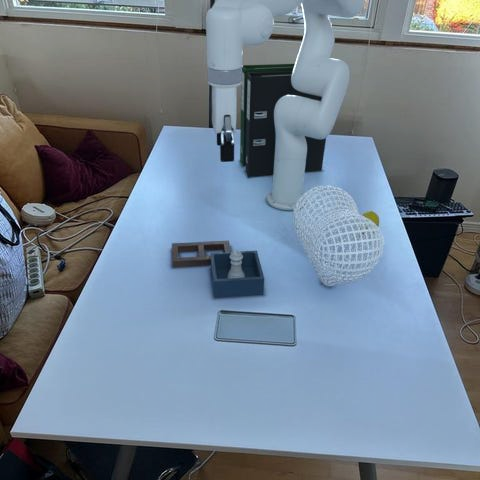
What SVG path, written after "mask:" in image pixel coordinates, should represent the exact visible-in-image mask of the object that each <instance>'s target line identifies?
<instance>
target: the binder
mask: <svg viewBox="0 0 480 480" xmlns="http://www.w3.org/2000/svg"><path fill="white" fill-rule="evenodd" d="M294 66H295V63H271V64H268V63H267V64H242V84H241V85H240V131H239V132H240V134H239V135H240V137H239V138H240V139H239V140H240V142H239V143H240V144H239V145H240V146H239V147H240V148H239V152H240V153H239V162H240V164H241V166H242V167H244V172H245V175H246V176H247V178H257V177H268V176H269V177H270V176H273V173H274V159H275V143H276V132H275V123H274V109H275V105H276V103H277V101H278V100H279V99H280V98H281V97H283V96H286V95H296V96H301V97H305V98H310V99H313V100H318V101H321V99H322V97H321V96H316V95H312V94H307V93H303V92H300V91H298V90H296V89H294V87H293V86H292V84H291V77H292V73H293V69H294ZM305 139H306V142H307V156H306V164H305V173H314V172H322V171H323V164H324V157H325V149H326V142H327V137H326V138H325V139H315V138H311V137H307V136H305Z"/></svg>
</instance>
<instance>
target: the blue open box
mask: <svg viewBox="0 0 480 480" xmlns="http://www.w3.org/2000/svg"><path fill="white" fill-rule="evenodd" d="M239 251H240V250H239ZM231 252H232V253H233V251H231ZM231 252H224V251H223V252H221V251H219V252H210V253H209V256H210V261H211V265H210V274H211V282H212V290H213V298H214V299H222V298H239V297H255V296H257V297H258V296H264V289H265V276H264V272H263V268H262V264H261V259H260V256H259V253H258V250H241V251H240V252H241V253H242V255H243V258H242V259H241V261H242V263H241V268H242V271H243V272H244V275H245V276H244V277H245V278H231V279H227V277H228V273H229V271H230V270H231V259H230V255H231Z"/></svg>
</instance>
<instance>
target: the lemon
mask: <svg viewBox="0 0 480 480" xmlns="http://www.w3.org/2000/svg"><path fill="white" fill-rule="evenodd" d="M361 216H364V217H366V218H368V219H370V220H371V221H372V222H374V223H375V224H376V225H377V226H378V228H380V217H379V215H378V214H377V213H376V212H374V211H373V210H369V211H366V212H364V213H363V214H362V215H361ZM366 221H367V220H366ZM365 225H366V224H365ZM369 226H370V224H369ZM365 228H366V229H367V227H365ZM360 230H361V228H360ZM369 233H370V232H369ZM373 234H374V235H375V233H374V231H373ZM362 235H363V236H364V232H362ZM367 236H368V234H367ZM365 237H366V235H365ZM369 237H371V235H369Z"/></svg>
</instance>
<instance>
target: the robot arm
mask: <svg viewBox="0 0 480 480" xmlns="http://www.w3.org/2000/svg"><path fill="white" fill-rule="evenodd" d="M365 2H366V0H216V1H215V2H214V3H213V5H212V7H211V8H209V9H208V10H207V12H206V14H205V15H206V16H205V33H206V63H207V64H206V65H207V68H206V70H207V71H206V72H207V84H208V85H210V86H211V124H212V129H213V133H215V134H216V145H217V146H219V153H220V154H219V157H220V159H219V161H220V162H221V163H228V162H230V163H231V162H232V163H233V162H234V161H235V140H234V134H235V133H236V132H237V116H238V115H237V111H238V110H237V108H238V102H237V101H238V92H237V91H238V87H239V86H241V84H242V65H243V48H244V47H246V46H260V45H263V44H264V43H266V42H267V41H268V40H269V38H270V37H271V35H272V34H273V31H274V26H275V20H274V18H276V17H281V16H286V15H288V14H291V13H292V12H294V11H295V10H296V9H297V8H298V7H299V6H300V5H301V9H302V15H303V23H304V34H303V38H302V41H301V45H300V47H299V51H298V54H297V56H296V60H295V63H294V64H295V66H294V69H293V73H292V77H291V84H292V86H293V87H294V89H296V90H298V91H300V92H303V93H307V94H312V95H316V96H321V97H322V99H321V101H318V100H313V99H310V98H305V97H301V96H296V95H286V96H283V97H281V98H280V99H279V100H278V101H277V103H276V105H275V109H274V123H275V132H276V143H275V159H274V173H273V175H272V178H273V179H272V190H271V191H270V192H269V193H268V194H267V196H266V201H267V203H268V205H269V206H271V207H273V208H275V209H279V210H283V211H294V207H295V205H296V203H297V201H298V200H299V198H300V197H301V196H302V195H303V194H304V193H303V189H304V181H305V173H306V172H305V164H306V156H307V142H306V139H305V136H307V137H311V138H315V139H325V138H326V139H327V138H328V137H329V136H330V134H331V132H332V131H333V130H334V129H333V128H334V126H335V123H336V121H337V119H338V116H339V113H340V109H341V108H342V104H343V101H344V98H345V96H346V94H347V90H348V87H349V83H350V68H349V66H348V64H347V62H345V61H343V60H342V59H337V58H333V57H331V54H332V52H333V48H334V45H335V41H336V39H335V38H336V37H335V32H334V28H333V25H332V22H331V19H330V17H338V18H344V19H351V18H354V17H356V16H357V15H358V14H359V13H361V11H362V10H363V7H364V5H365ZM329 16H330V17H329ZM304 199H305V198H304ZM305 201H306V200H305ZM301 202H302V200H301ZM300 204H301V203H300ZM304 206H305V204H304Z"/></svg>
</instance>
